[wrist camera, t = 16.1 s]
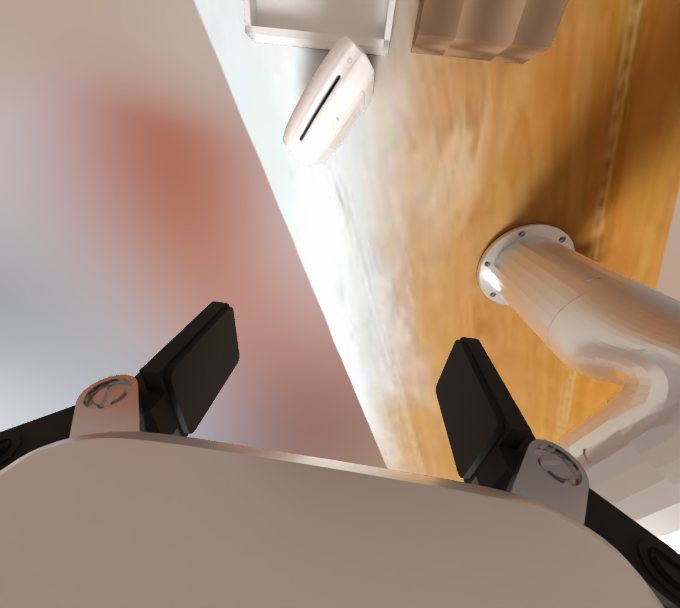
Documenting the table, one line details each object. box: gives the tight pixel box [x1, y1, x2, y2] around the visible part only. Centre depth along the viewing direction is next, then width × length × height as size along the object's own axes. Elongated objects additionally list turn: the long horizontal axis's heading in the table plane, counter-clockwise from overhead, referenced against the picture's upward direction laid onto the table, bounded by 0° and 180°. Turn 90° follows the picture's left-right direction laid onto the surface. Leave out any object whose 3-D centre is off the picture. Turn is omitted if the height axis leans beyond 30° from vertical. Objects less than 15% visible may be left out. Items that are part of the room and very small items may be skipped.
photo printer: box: [283, 36, 375, 165], centre depth 26 cm, size 10×4×12 cm, turn 140°
